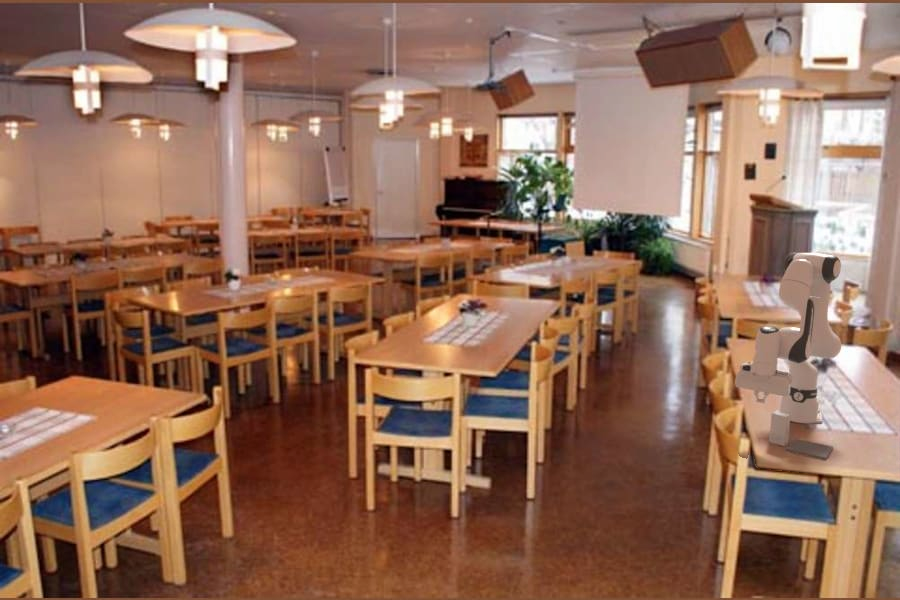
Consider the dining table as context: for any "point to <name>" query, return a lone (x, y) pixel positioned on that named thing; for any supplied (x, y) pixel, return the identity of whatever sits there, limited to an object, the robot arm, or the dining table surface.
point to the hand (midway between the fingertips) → (760, 402)
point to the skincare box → (779, 428)
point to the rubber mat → (809, 449)
